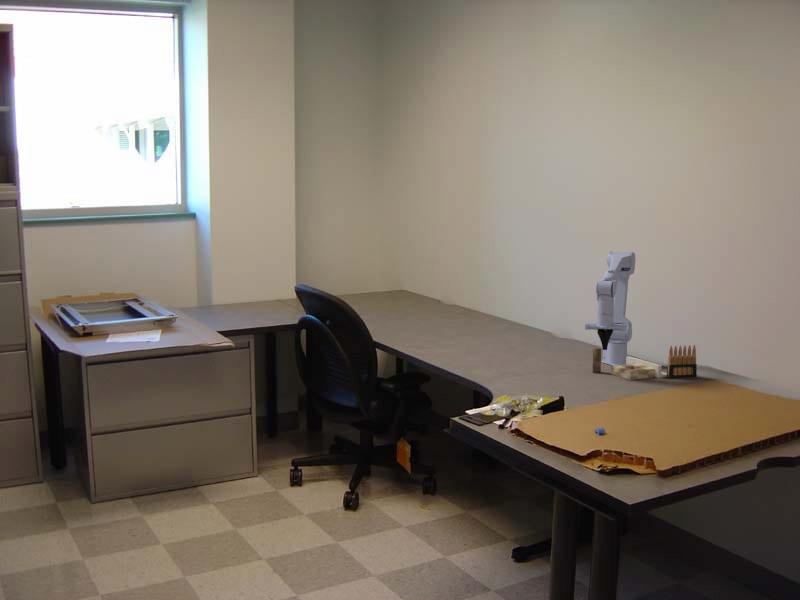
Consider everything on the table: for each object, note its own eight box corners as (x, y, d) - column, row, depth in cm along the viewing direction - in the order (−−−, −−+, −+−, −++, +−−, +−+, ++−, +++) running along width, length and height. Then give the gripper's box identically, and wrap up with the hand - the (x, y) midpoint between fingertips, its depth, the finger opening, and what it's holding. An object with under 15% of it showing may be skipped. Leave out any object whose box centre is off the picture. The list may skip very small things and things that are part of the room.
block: (611, 373, 320) (611, 366, 319) (634, 370, 324) (635, 363, 324) (630, 380, 310) (630, 372, 310) (654, 376, 314) (654, 368, 314)
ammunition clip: (668, 378, 312) (669, 346, 310) (666, 377, 314) (667, 345, 312) (696, 377, 313) (698, 345, 311) (694, 376, 315) (695, 344, 313)
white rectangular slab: (626, 368, 329) (626, 356, 328) (637, 366, 331) (637, 355, 331) (658, 378, 313) (658, 365, 312) (670, 376, 315) (670, 364, 314)
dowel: (590, 372, 323) (591, 348, 322) (597, 371, 325) (597, 347, 323) (595, 373, 321) (596, 350, 320) (602, 372, 322) (602, 349, 321)
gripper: (584, 314, 313) (583, 350, 315) (624, 315, 308) (623, 352, 310) (587, 311, 320) (586, 346, 322) (626, 312, 315) (626, 349, 317)
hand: (604, 349), depth 317 cm, fingers closed
